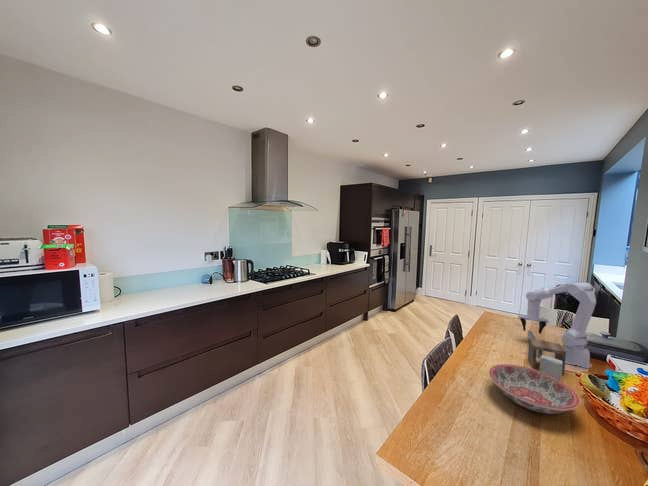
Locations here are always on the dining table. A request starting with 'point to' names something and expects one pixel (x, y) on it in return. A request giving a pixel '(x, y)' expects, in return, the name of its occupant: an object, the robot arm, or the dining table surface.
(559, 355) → the low cabinet
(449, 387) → the dining table surface
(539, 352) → the steel block
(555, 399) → the ceramic bowl
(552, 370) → the medicine box
